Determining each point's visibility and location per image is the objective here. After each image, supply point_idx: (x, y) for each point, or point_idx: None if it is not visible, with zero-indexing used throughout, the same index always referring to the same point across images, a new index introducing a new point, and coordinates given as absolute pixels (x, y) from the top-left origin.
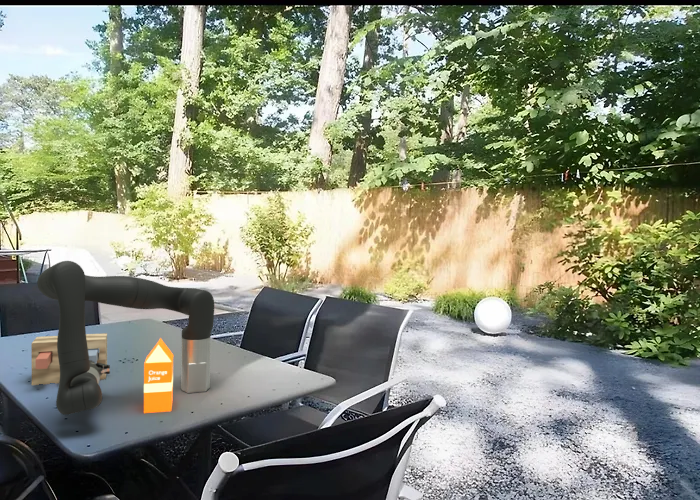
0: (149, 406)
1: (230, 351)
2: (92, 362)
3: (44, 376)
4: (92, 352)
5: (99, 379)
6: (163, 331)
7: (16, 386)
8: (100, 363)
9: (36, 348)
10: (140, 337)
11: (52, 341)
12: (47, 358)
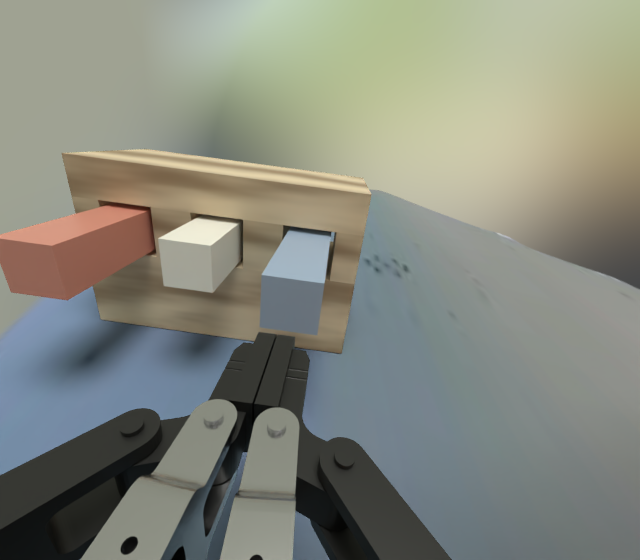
0: None
1: (622, 291)
2: (292, 367)
3: (136, 299)
4: (306, 251)
5: (320, 349)
6: (413, 210)
7: (57, 311)
8: (376, 485)
9: (86, 181)
10: (384, 213)
11: (152, 162)
12: (60, 244)
